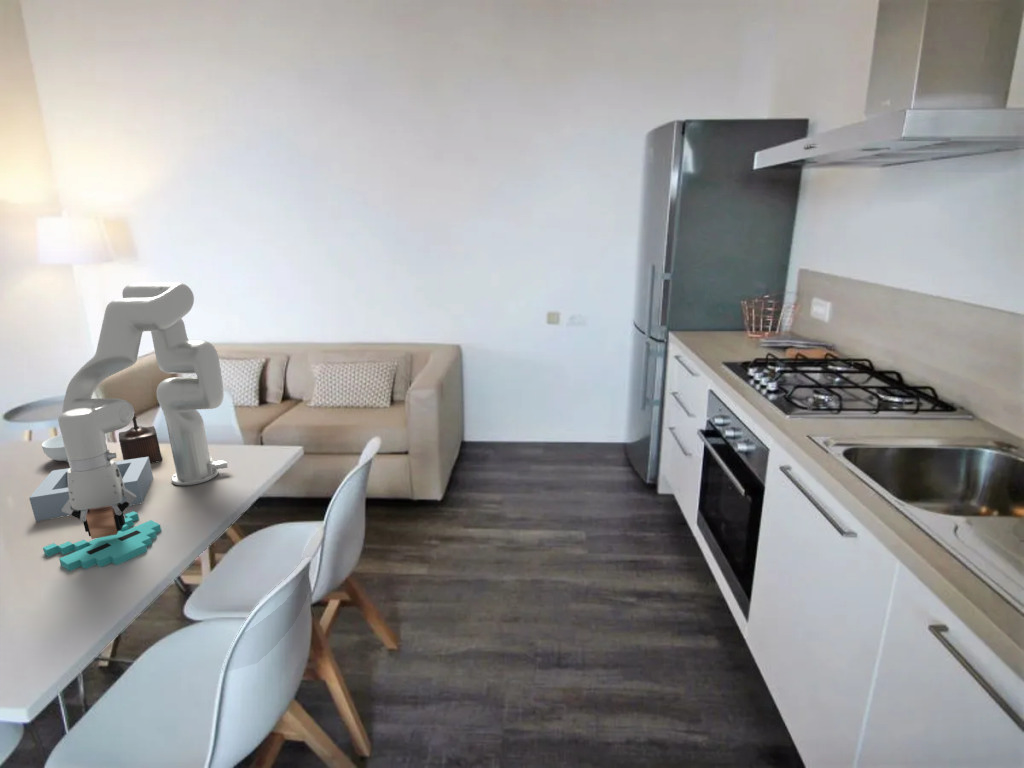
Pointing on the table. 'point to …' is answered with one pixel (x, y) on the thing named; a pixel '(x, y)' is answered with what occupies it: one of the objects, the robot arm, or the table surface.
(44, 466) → the table surface
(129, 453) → the brown manual coffee grinder
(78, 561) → the alien figure
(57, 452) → the cereal bowl
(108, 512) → the terracotta cube
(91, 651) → the table surface
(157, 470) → the table surface
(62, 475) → the slot box
